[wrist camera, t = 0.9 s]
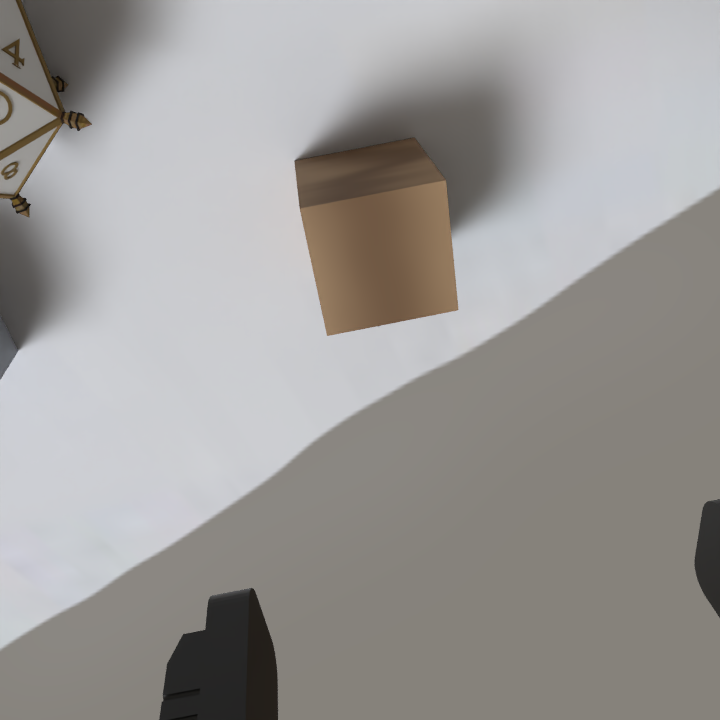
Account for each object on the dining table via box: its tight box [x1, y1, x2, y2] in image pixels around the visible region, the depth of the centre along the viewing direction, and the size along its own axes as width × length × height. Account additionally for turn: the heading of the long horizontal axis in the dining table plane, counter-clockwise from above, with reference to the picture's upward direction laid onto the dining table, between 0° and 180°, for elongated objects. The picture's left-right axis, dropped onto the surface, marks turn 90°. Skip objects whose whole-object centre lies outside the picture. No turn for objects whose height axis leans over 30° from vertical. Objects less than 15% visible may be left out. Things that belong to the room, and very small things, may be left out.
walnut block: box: [295, 138, 458, 336], centre depth 27 cm, size 5×5×6 cm
